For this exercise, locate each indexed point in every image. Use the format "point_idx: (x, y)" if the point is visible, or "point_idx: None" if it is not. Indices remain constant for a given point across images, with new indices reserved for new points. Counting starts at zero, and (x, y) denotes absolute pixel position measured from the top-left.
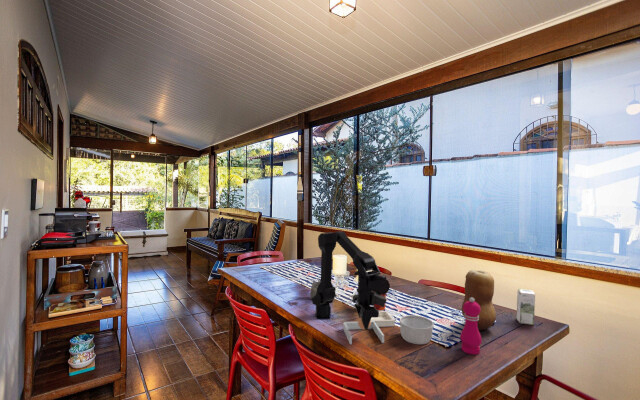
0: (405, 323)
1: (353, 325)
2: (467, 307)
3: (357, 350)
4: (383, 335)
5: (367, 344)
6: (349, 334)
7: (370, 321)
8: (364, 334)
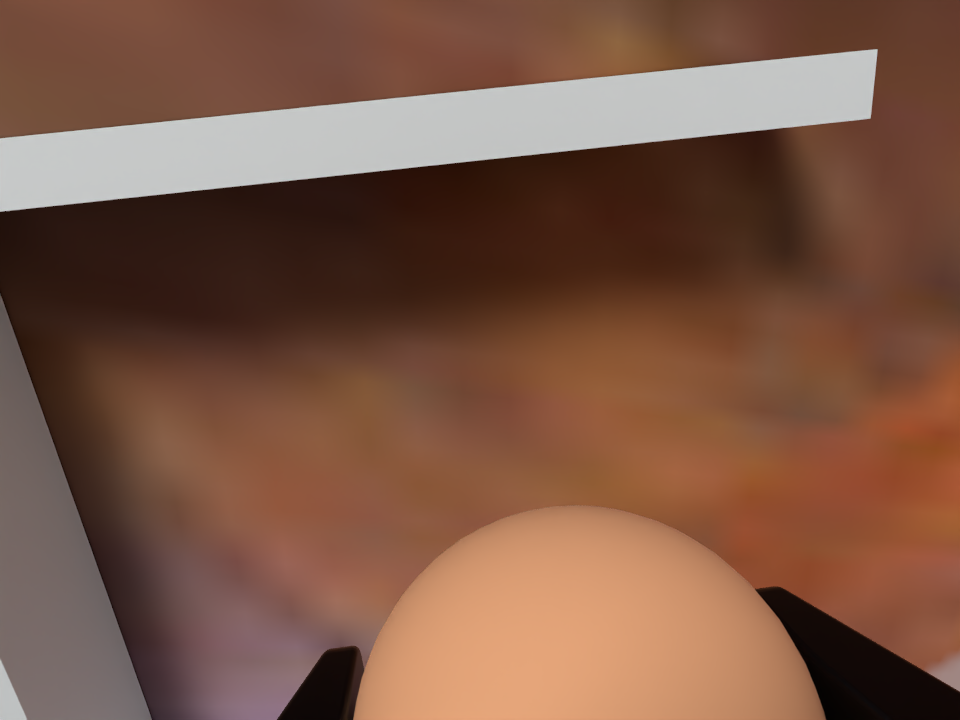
0: None
1: (81, 695)
2: None
3: (940, 599)
4: (871, 72)
5: (773, 428)
6: None
7: (661, 607)
8: (336, 437)
